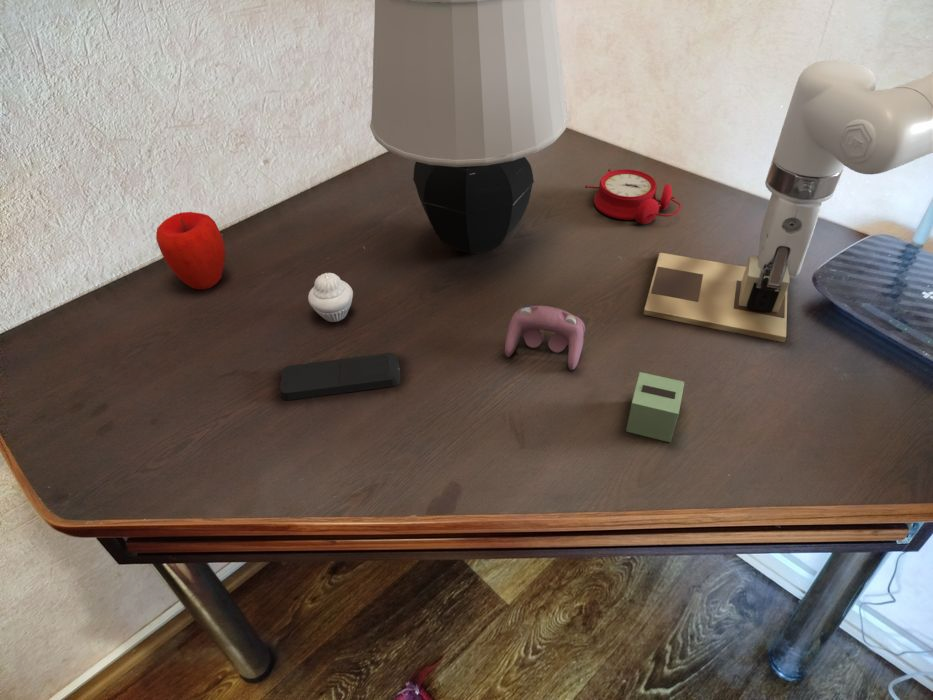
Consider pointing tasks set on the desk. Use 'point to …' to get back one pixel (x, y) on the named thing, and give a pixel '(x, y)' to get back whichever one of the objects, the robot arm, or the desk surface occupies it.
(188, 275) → the apple
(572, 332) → the video game controller
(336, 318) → the muffin
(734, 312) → the word board
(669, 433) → the letter tile i
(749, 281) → the cream cube
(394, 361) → the remote control
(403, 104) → the table lamp
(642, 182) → the alarm clock
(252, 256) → the desk surface
